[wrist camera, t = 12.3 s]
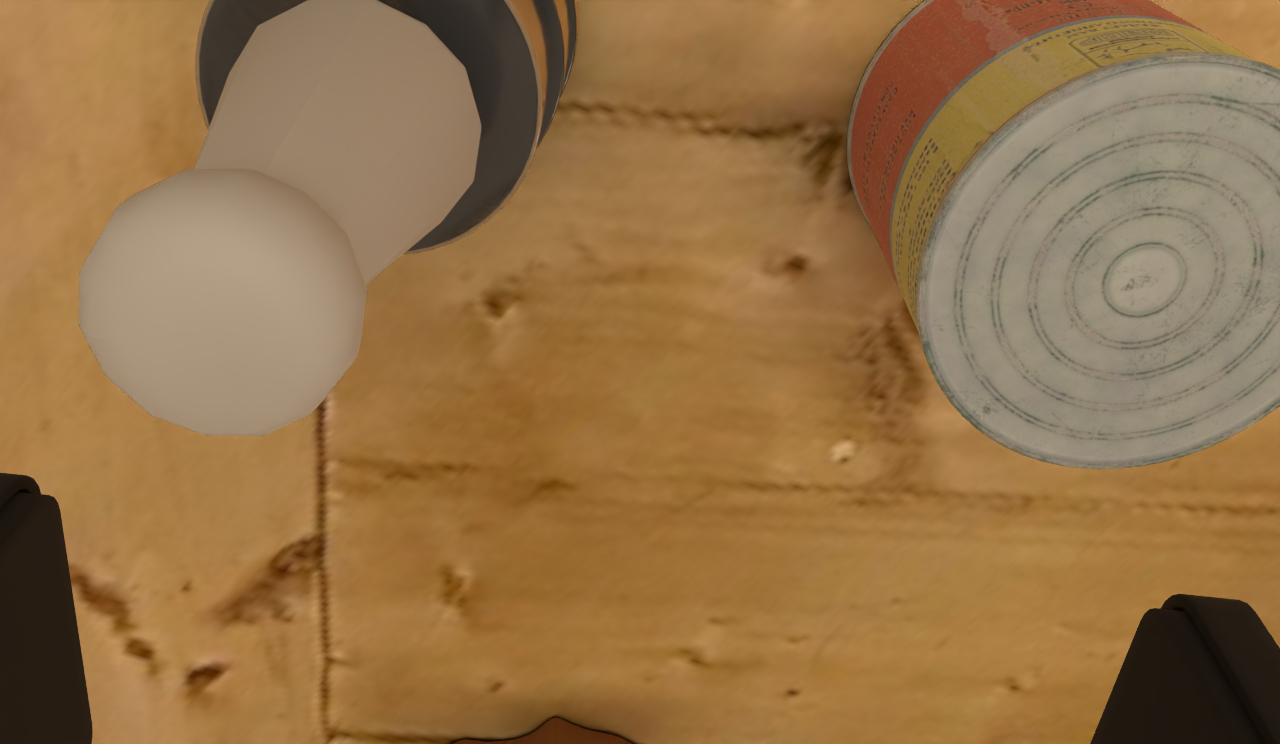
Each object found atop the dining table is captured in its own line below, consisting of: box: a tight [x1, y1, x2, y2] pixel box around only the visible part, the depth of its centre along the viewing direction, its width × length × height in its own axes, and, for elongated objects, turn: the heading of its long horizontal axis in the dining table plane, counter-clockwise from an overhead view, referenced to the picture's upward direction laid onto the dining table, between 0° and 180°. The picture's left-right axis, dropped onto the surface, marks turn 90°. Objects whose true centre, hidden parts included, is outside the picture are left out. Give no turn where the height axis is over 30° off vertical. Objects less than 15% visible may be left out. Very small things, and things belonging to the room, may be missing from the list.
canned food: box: [847, 0, 1280, 469], centre depth 35 cm, size 11×11×12 cm
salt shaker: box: [79, 0, 481, 436], centre depth 23 cm, size 6×6×13 cm
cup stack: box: [196, 0, 578, 254], centre depth 34 cm, size 9×9×10 cm
